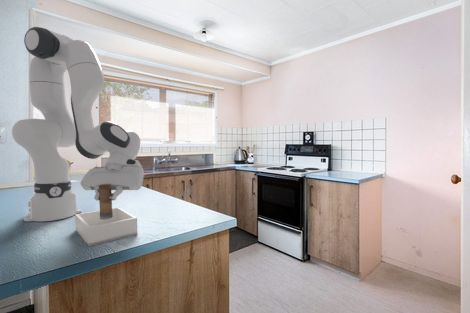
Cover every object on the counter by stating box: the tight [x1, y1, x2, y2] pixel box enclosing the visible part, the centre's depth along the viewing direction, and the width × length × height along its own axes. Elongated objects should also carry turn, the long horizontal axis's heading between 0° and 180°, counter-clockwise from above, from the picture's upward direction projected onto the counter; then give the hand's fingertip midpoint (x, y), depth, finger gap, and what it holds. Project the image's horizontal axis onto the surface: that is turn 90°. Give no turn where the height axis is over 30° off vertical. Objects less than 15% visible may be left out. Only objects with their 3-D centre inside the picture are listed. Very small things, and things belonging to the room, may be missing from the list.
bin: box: [74, 206, 138, 247], centre depth 82 cm, size 18×14×6 cm
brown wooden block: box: [98, 184, 113, 220], centre depth 81 cm, size 4×4×11 cm
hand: (104, 199), depth 81 cm, fingers closed on brown wooden block, 4 cm apart
